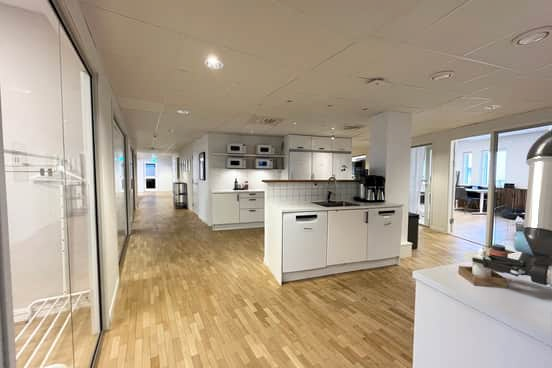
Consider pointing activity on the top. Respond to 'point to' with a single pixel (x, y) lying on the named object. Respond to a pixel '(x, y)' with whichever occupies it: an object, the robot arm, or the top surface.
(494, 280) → the holder
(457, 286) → the top surface
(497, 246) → the supplement bottle
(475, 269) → the eye dropper bottle
